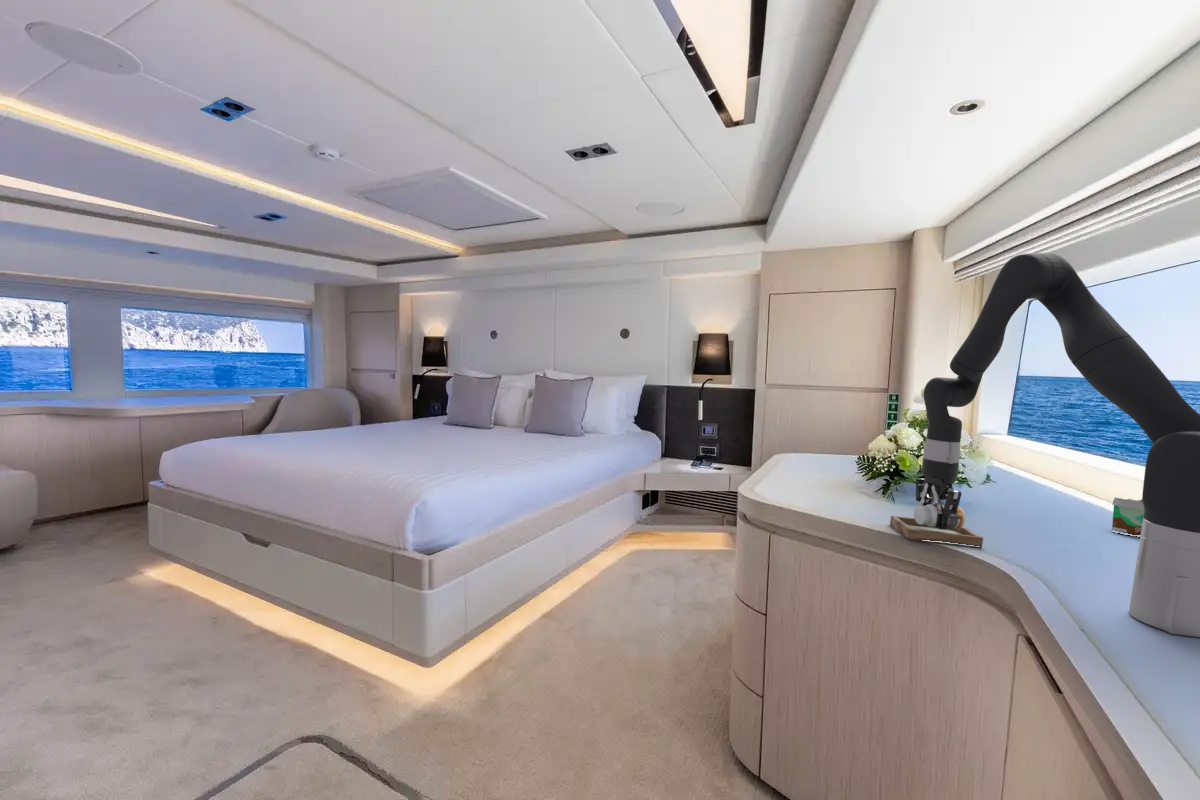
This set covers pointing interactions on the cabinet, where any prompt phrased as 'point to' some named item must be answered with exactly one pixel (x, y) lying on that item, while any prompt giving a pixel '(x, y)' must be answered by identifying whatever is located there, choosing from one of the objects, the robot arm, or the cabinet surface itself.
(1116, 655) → the cabinet surface
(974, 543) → the tray
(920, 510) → the pill bottle
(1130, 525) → the food container
